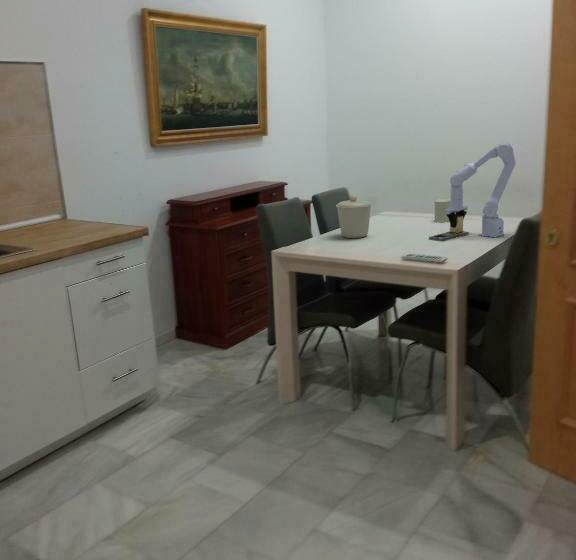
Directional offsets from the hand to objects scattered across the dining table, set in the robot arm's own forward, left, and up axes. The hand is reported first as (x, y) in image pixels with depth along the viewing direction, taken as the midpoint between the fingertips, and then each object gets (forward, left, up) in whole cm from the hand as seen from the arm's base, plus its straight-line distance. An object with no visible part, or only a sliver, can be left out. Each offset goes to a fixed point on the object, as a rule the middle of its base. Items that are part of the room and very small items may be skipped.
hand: (456, 226), depth 311 cm
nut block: (0, 0, -2) cm, 2 cm away
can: (+28, -26, -4) cm, 39 cm away
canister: (+39, +31, -4) cm, 50 cm away
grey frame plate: (0, +6, -4) cm, 7 cm away
